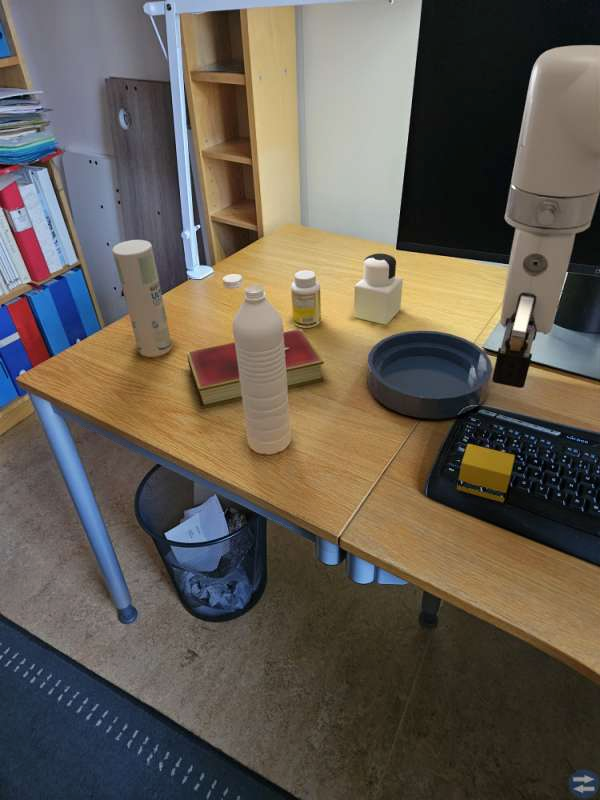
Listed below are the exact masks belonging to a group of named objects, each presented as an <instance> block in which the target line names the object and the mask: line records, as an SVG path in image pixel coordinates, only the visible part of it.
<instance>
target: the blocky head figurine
mask: <svg viewBox="0 0 600 800" xmlns="http://www.w3.org/2000/svg"><path fill="white" fill-rule="evenodd" d="M396 270H397V260H396V258H395V257H394V256H392V255H390V254H387V253H372V254H369V255H367V256H366V257H365V258H364V261H363V278H362V279H360V280H359V281H358V282H357V283H356V284H354V309H353V310H354V311H353V312H354V313H353V315H354V318H356V319H360V320H365V321H369V322H372V323H376V324H380V325H384V326H386V325H388V324H389V323H390V322H391V321H392V320H393V319H394V318H395V316H396V315H397V314H398V313H399V312H400V311H401V307H402V293H403V283H404V282H403V280H404V278H403V277H401V276H396Z"/></svg>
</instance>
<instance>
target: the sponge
mask: <svg viewBox="0 0 600 800" xmlns="http://www.w3.org/2000/svg"><path fill="white" fill-rule="evenodd" d="M515 458H516V455H515V454H512V453H507V452H504V451H500V450H496V449H491V448H487V447H483V446H480V445H475V444H473V443H467V445H466V448H465V451H464V454H463V458H462V460H461V464H460V468H459V469H460V470H459V475H458V480H460V481H463V482H466V483H469V484H472V485H476V486H482V487H485V488H486V489H488V488H489V489H492V490H495V491H500V492H503V493H506V494H507V492H508V487H509V483H510V480H511V475H512V471H513V467H514V463H515ZM456 491H459V492H463V493H466V494H471V495H474V496H478V497H480V498H484V499H489V500H492V501H496V502H499V503H504V502H505V499H506V497H505V498H504V497H500V496H497V495H493V494H489V493H486V492H482V491H480V492H479V491H478V490H474V489H471V488H468V489H467V488H466V487H464V486H463V487H461V486H460V485H459V486H458V484H456Z"/></svg>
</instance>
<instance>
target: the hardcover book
mask: <svg viewBox="0 0 600 800" xmlns="http://www.w3.org/2000/svg"><path fill="white" fill-rule="evenodd" d="M284 349H285V364H286V374H287V387H288V390H290V389H294V388H298V387H303V386H307V385H308V386H309V385H312V384H315V383H320V382H324V381H325V378H324V377H323V376H324V375H322V364H323V365H324V363H325V361H324V359H323V358H322V357H321V355H320V354H319V352H318V351H317V349H316V348H315V346H314V345H313V343H312V342H311V340H310V339H309V337H308V336H307V334H306V333H305V331H304V330H303V329H302V328H298V329H294V330H289V331H288V330H287V331H284ZM186 357H187V363H188V366H189V371H190V375H191V378H192V380H193V384H194V387H195V390H196V393H197V397H198V400H199V403H200V406H201V409H208V408H211V407H216V406H220V405H224V404H229V403H233V402H239V401H242V400H243V399H242V395H241V386H240V379H239V370H238V362H237V355H236V347H235V341H234V342H231V343H224V344H220V345H216V346H211V347H206V348H201V349H196V350H192V351H187V352H186Z"/></svg>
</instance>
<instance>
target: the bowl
mask: <svg viewBox="0 0 600 800" xmlns="http://www.w3.org/2000/svg"><path fill="white" fill-rule="evenodd" d="M366 364H367V365H366V366H367V367H366V385H367V387H368V390H369V392H370V393H371V394H372V396H373V397H374V398H375V399H376V401H378V402H380V403H381V404H382V405H384V407H386V408H388V409H389V410H393V411H395V412H397V413H398V414H399V413H400V414H402V415H406V416H410V417H414V418H419V419H433V420H439V419H440V420H441V419H448V418H449V419H450V418H451V419H452V418H455V417H458V413H459V412H460V411H461V410H462V409H463V408H465V407H467V406H470V405H479V406H480V405H481V404H482V403H483V402H484V401H485V400H486V399H487V395H488V392H489V388H490V384H491V380H492V375H493V365H492V361H491V359H490V357H489V356H488V354H487V353H486V352H485V351H484V350H483V349H482V348H481V347H480V346H478V345H477V344H475V343H474V342H472V341H470V340H468V339H466V338H464V337H461V336H458V335H455V334H452V333H448V332H443V331H436V330H411V331H403V332H400V333H395V334H391V335H389V336H387V337H385V338H383V339H381V340H380V341H378V342H377V343H376V344H374V345H373V347H372V348H371V350H370V351H369V353H368V356H367V363H366Z"/></svg>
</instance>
